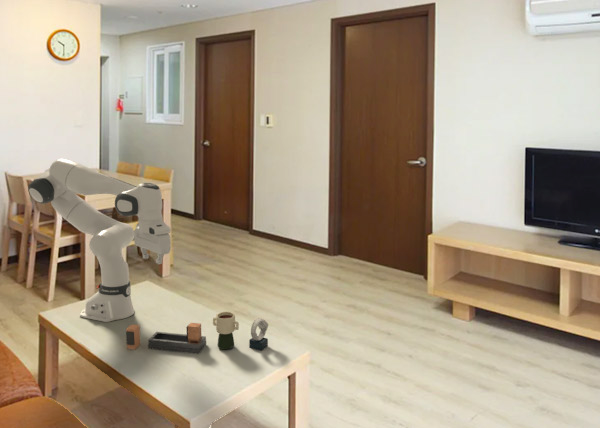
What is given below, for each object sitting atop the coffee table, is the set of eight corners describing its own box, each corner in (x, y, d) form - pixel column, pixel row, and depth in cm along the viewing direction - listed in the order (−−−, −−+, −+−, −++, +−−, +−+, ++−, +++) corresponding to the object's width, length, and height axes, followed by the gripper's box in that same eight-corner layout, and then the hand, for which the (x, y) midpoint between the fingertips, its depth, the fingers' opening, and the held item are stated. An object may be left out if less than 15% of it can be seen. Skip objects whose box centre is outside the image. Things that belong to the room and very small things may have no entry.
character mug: (243, 345, 195) (243, 314, 192) (233, 353, 189) (233, 321, 186) (218, 340, 199) (217, 309, 196) (208, 348, 192) (207, 316, 190)
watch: (270, 344, 197) (270, 317, 195) (259, 352, 190) (259, 325, 188) (258, 340, 199) (258, 314, 197) (246, 349, 192) (246, 322, 190)
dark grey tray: (148, 348, 191) (147, 325, 189) (157, 339, 199) (156, 316, 197) (198, 354, 188) (198, 330, 186) (206, 344, 196) (205, 321, 194)
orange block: (132, 343, 195) (131, 324, 193) (140, 344, 194) (139, 325, 193) (126, 349, 191) (125, 329, 189) (134, 350, 190) (133, 330, 188)
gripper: (129, 222, 198) (130, 257, 201) (158, 231, 185) (159, 268, 187) (143, 220, 203) (145, 253, 205) (173, 229, 189) (174, 264, 192)
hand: (152, 261), depth 196 cm, fingers open, 8 cm apart
